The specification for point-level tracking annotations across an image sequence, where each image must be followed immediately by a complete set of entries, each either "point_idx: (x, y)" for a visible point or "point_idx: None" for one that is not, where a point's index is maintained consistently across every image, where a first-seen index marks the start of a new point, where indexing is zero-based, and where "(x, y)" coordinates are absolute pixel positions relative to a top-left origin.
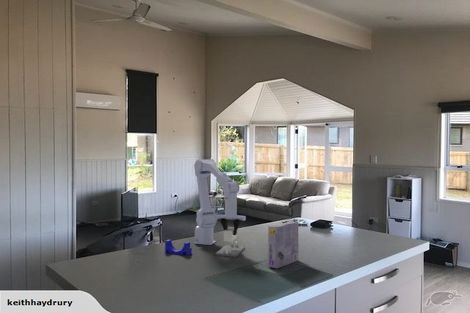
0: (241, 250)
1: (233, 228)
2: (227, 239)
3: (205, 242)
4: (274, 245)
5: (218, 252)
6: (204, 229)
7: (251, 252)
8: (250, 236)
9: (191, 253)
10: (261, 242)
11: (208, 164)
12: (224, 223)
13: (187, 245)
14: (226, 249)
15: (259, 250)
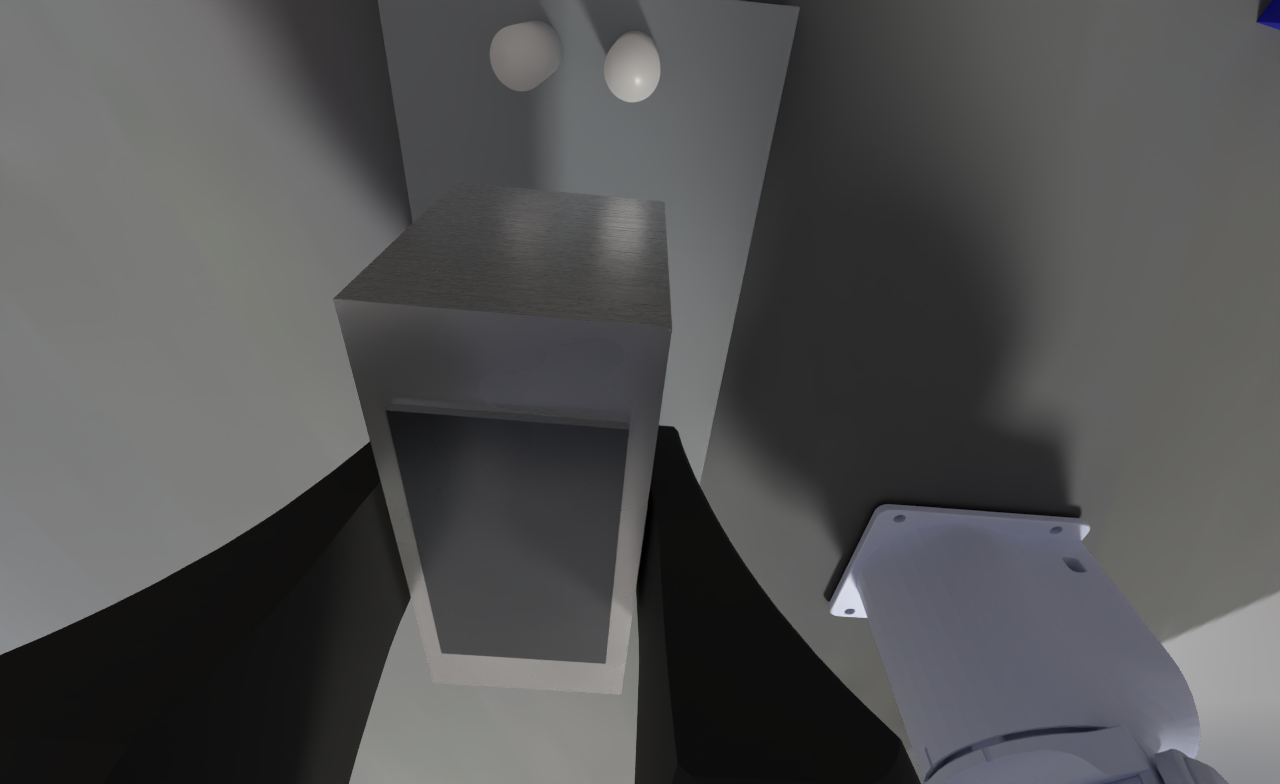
0: None
1: (446, 586)
2: (562, 206)
3: (957, 533)
4: None
5: (747, 66)
6: (1068, 696)
7: (295, 308)
8: (551, 743)
9: (1268, 9)
10: (394, 642)
11: None
12: (695, 676)
13: None
14: None
15: (256, 411)
